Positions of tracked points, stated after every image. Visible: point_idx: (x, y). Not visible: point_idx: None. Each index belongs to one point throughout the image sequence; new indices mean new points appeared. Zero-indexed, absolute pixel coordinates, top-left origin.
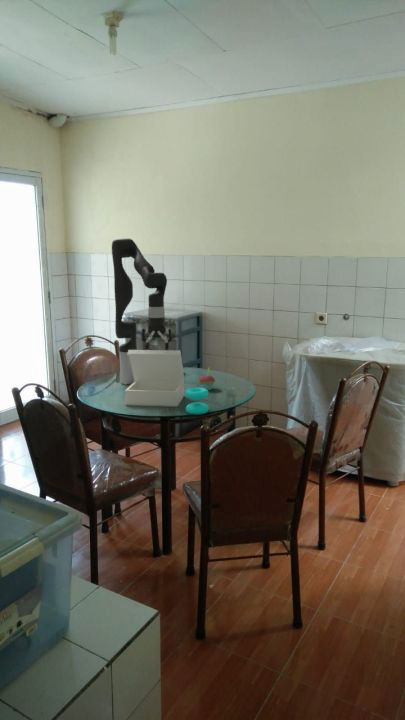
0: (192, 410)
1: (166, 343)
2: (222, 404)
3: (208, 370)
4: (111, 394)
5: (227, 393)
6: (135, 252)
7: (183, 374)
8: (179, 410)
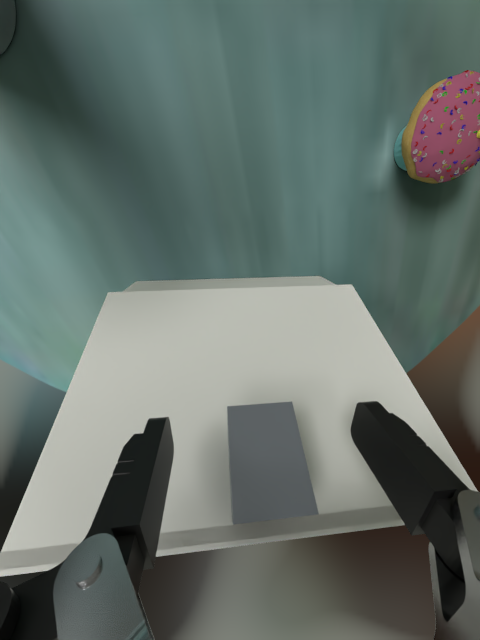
0: None
1: (424, 525)
2: (427, 341)
3: None
4: (31, 280)
5: (476, 215)
6: None
7: (369, 314)
8: None
